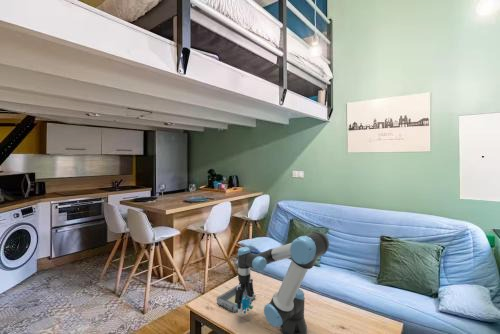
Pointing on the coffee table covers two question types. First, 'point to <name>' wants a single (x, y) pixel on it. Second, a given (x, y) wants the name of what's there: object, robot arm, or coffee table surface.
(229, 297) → the gray metal tray
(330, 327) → the coffee table surface
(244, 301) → the gear
